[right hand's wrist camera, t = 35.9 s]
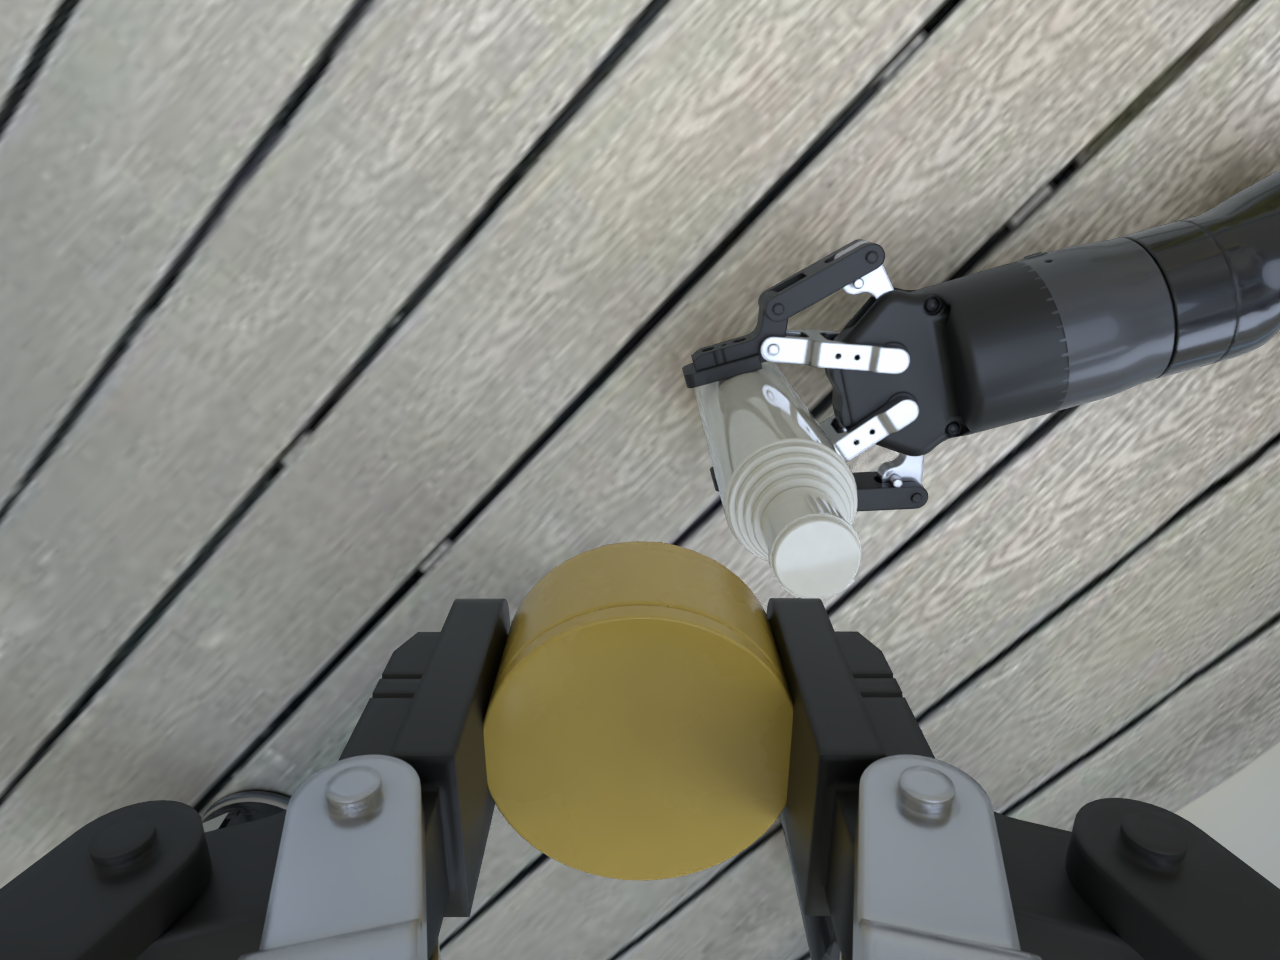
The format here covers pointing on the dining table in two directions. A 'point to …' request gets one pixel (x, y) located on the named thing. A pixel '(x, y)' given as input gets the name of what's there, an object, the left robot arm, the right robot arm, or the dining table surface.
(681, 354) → the dining table surface
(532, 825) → the cap
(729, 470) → the bottle
